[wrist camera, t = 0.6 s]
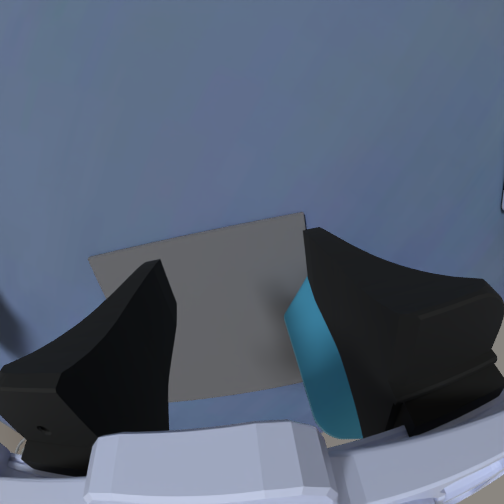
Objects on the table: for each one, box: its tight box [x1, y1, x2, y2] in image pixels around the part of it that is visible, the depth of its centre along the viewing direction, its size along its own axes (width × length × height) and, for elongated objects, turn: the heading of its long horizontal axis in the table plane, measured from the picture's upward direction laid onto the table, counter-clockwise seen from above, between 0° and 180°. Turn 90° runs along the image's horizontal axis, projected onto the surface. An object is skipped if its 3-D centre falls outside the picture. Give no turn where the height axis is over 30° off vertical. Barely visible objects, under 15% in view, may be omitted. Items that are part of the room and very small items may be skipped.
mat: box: [88, 212, 307, 402], centre depth 26 cm, size 16×18×1 cm
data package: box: [284, 276, 363, 439], centre depth 21 cm, size 12×4×12 cm, turn 66°
